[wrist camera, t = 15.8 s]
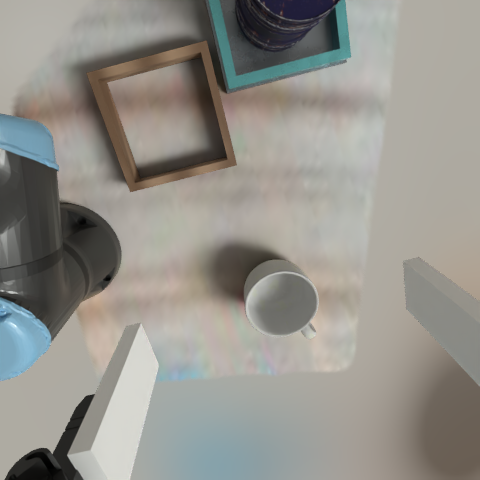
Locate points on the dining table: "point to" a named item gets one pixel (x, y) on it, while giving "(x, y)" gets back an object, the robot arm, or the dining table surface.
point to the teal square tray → (275, 63)
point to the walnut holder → (114, 125)
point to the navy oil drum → (279, 21)
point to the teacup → (280, 299)
